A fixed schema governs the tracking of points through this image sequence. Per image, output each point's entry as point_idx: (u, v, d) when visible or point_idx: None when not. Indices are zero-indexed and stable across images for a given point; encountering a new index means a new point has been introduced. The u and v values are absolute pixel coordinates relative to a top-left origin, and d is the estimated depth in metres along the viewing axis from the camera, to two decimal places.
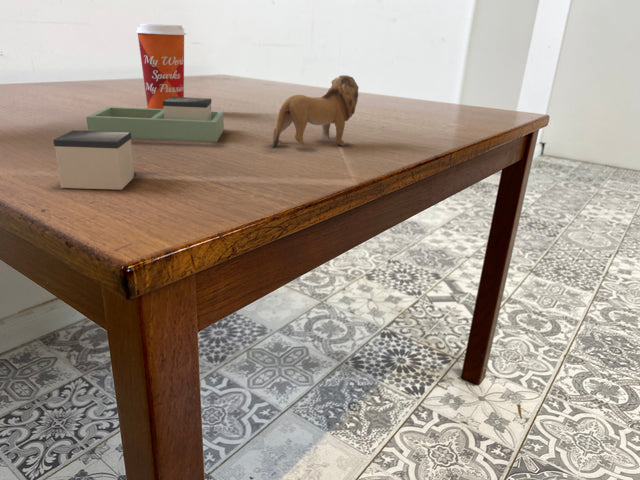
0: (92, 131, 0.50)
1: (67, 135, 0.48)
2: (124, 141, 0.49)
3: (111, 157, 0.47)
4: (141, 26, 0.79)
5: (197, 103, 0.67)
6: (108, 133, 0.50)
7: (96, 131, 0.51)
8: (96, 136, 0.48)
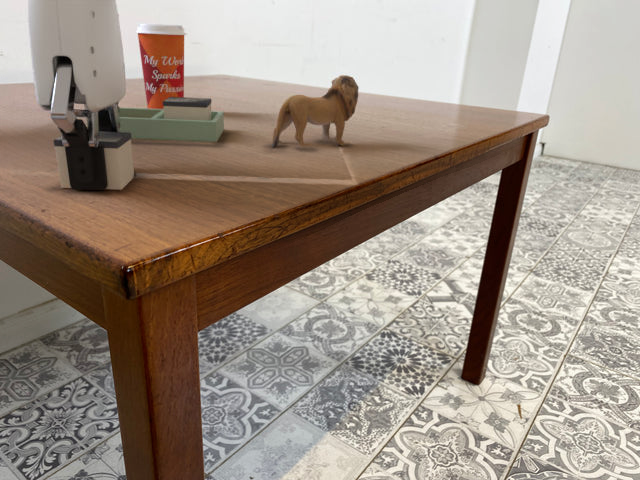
0: None
1: None
2: (124, 141, 0.49)
3: (111, 157, 0.47)
4: (141, 26, 0.79)
5: (197, 103, 0.67)
6: (108, 133, 0.50)
7: None
8: None
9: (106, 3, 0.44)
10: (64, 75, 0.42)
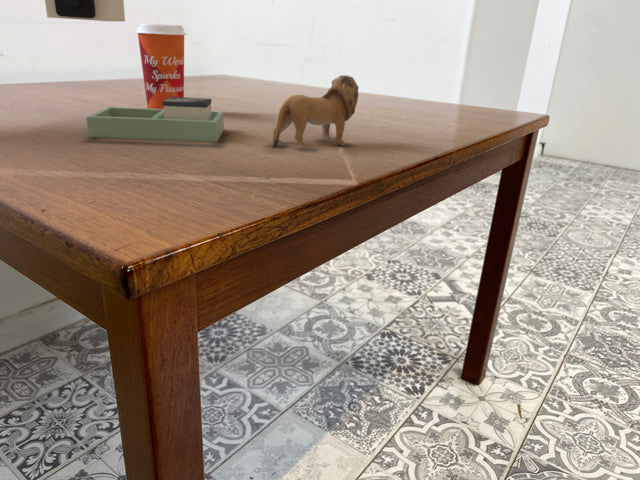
0: None
1: None
2: None
3: None
4: (141, 26, 0.79)
5: (197, 103, 0.67)
6: None
7: None
8: None
9: None
10: None
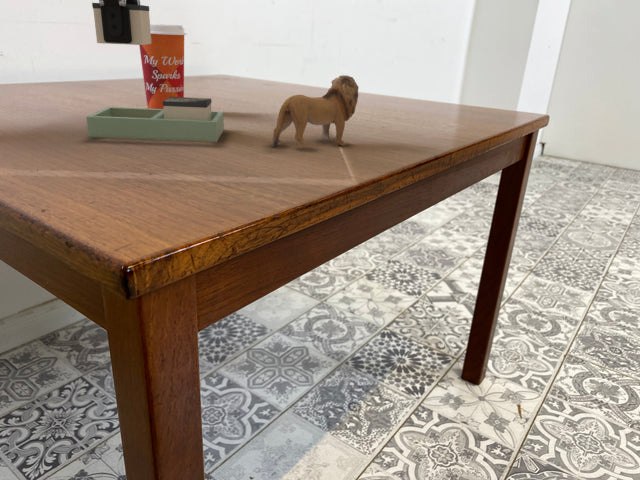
0: None
1: None
2: (144, 8, 0.64)
3: (135, 17, 0.63)
4: None
5: (197, 103, 0.67)
6: None
7: None
8: None
9: None
10: None
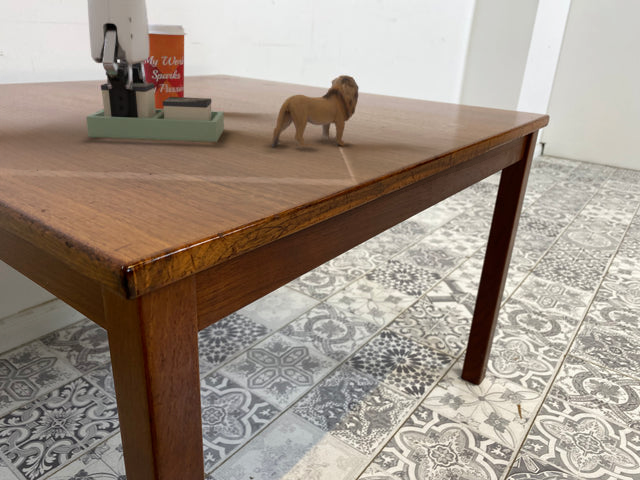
0: None
1: None
2: (149, 88, 0.68)
3: (141, 98, 0.67)
4: None
5: (197, 103, 0.67)
6: (138, 83, 0.69)
7: None
8: None
9: None
10: (111, 36, 0.61)
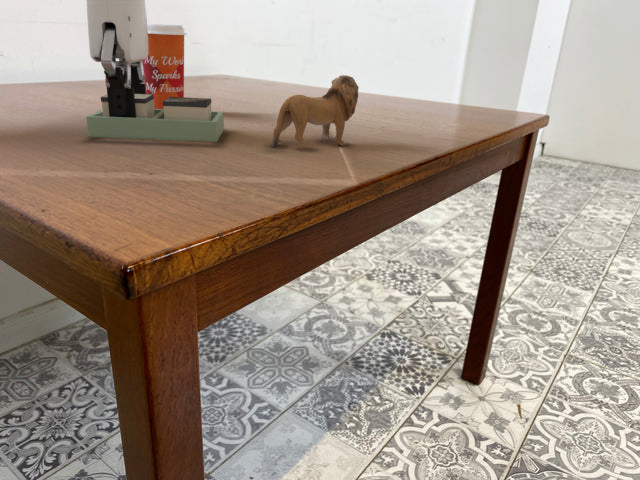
0: None
1: None
2: (149, 99, 0.69)
3: (141, 110, 0.67)
4: None
5: (197, 103, 0.67)
6: (137, 94, 0.70)
7: None
8: None
9: None
10: (110, 35, 0.61)
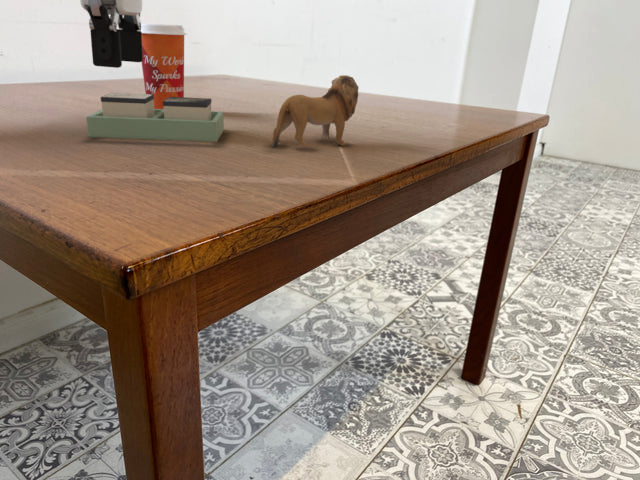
0: (125, 93, 0.70)
1: (109, 95, 0.68)
2: (149, 99, 0.69)
3: (141, 110, 0.67)
4: (141, 26, 0.79)
5: (197, 103, 0.67)
6: (137, 94, 0.70)
7: None
8: (129, 96, 0.68)
9: None
10: None
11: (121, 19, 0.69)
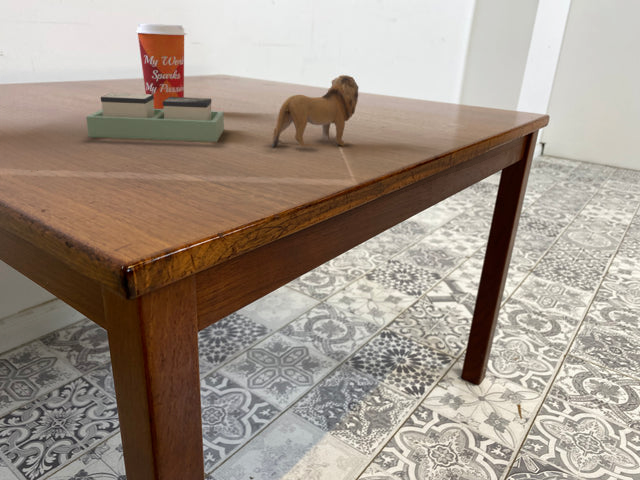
0: (125, 93, 0.70)
1: (109, 95, 0.68)
2: (149, 99, 0.69)
3: (141, 110, 0.67)
4: (141, 26, 0.79)
5: (197, 103, 0.67)
6: (137, 94, 0.70)
7: None
8: (129, 96, 0.68)
9: None
10: None
11: None
